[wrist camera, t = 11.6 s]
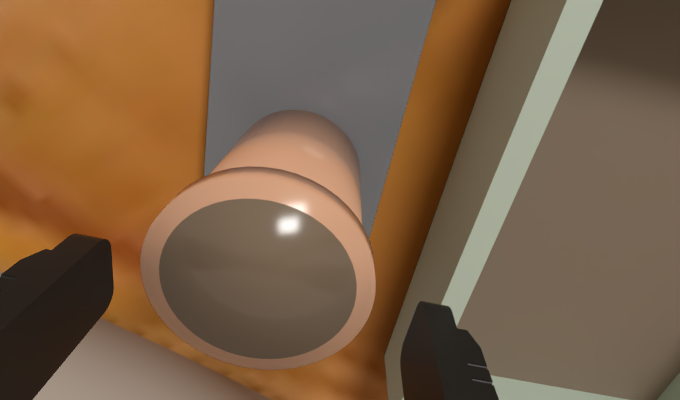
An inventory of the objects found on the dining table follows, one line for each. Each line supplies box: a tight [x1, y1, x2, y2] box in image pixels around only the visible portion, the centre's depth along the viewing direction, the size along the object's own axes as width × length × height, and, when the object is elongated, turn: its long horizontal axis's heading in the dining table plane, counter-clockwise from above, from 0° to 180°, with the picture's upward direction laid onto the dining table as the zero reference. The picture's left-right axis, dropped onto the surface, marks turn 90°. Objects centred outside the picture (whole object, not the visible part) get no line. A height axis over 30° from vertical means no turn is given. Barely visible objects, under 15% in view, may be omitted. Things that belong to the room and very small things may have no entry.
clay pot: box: [140, 110, 376, 370], centre depth 14 cm, size 6×6×8 cm
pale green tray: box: [384, 0, 680, 400], centre depth 18 cm, size 17×22×4 cm
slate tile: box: [204, 0, 436, 238], centre depth 18 cm, size 8×20×1 cm, turn 168°
